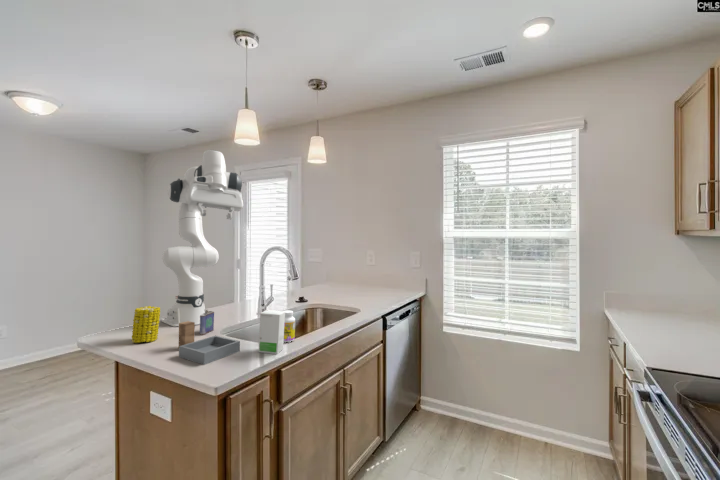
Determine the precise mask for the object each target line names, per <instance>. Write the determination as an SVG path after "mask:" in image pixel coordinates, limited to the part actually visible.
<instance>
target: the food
mask: <svg viewBox="0 0 720 480" xmlns="http://www.w3.org/2000/svg"><path fill="white" fill-rule="evenodd" d="M160 318H161V307H160V306H159V307H158V306H154V305H153V306H151V305H148V306H146V305H145V306H141V307H137V308H135V310H134V316H133V319H132V321H133V323H132V332H131V333H132V334H131V341H132V342H131V343H133V344H134V343H135V344H138V343H143V342H144V343H145V342H146V343H149V342H151V343H152V342H155V341H156V340H158V339H159V338H158V336H159V326H160Z"/></svg>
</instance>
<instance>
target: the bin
mask: <svg viewBox="0 0 720 480" xmlns="http://www.w3.org/2000/svg"><path fill="white" fill-rule="evenodd" d="M240 347H241V341H239V340H236V339H232V338H228V337H223V336H218V335H213V336H209V337H205V338H203V339H199V340H194V342H192V343H188V344H185V345H182V346H179V345H178V357H179V358H181V359H183V360H188V361H191V362H194V363H198V364H201V365H207V364H210V363H213V362H215V361H218V360H221V359H223V358H226V357H228V356H230V355H234V354H236V353H239V352H241V351H240V349H241V348H240Z"/></svg>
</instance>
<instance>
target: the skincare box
mask: <svg viewBox="0 0 720 480" xmlns="http://www.w3.org/2000/svg"><path fill="white" fill-rule="evenodd" d="M284 311H285V310H275V309H273V310H272V309H265V310H264V311H261V312H260V317H259V333H258V334H259V335H258V336H259V337H258V349H257V350H258V351H257V352H258V353H262V354H273V355H274V354H275V355H278V354H279V353H280V352H281V351H282V349H284V343H283V342H284V323H285V312H284Z"/></svg>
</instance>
